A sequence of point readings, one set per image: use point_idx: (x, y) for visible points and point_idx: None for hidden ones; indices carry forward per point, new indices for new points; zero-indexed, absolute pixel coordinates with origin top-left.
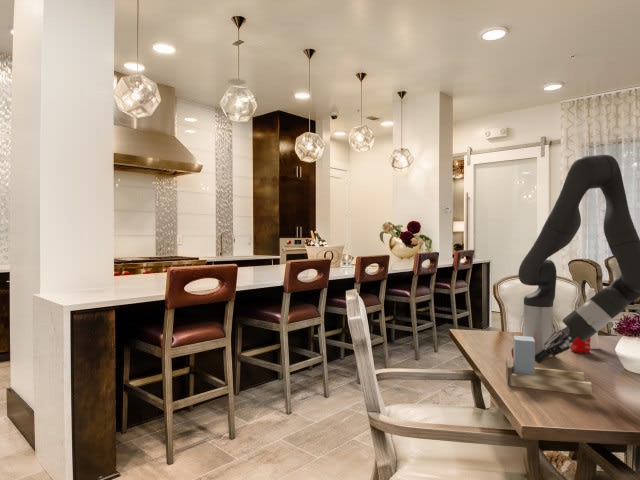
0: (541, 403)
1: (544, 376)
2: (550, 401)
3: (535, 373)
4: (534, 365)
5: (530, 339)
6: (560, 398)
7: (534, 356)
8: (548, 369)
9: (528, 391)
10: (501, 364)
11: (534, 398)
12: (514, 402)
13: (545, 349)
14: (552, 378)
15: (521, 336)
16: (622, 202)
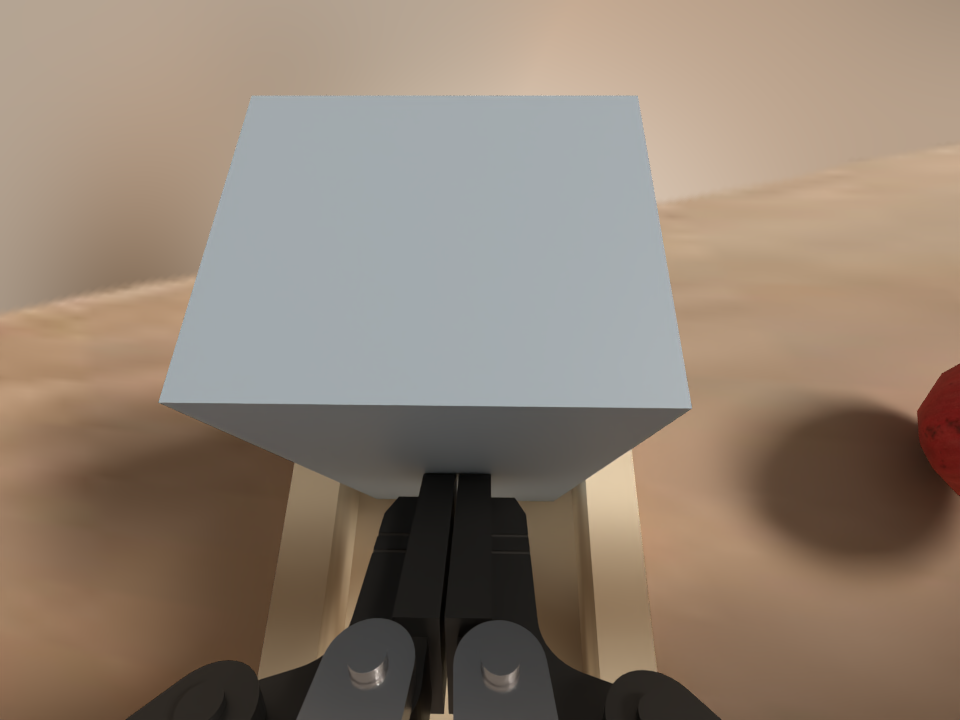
0: (22, 505)
1: (581, 611)
2: (62, 574)
3: (579, 530)
4: (336, 479)
5: (368, 330)
6: (132, 668)
7: (298, 460)
8: (623, 667)
9: (254, 448)
10: (847, 320)
11: (116, 472)
12: (39, 351)
13: (338, 652)
14: (296, 656)
15: (616, 198)
16: None
